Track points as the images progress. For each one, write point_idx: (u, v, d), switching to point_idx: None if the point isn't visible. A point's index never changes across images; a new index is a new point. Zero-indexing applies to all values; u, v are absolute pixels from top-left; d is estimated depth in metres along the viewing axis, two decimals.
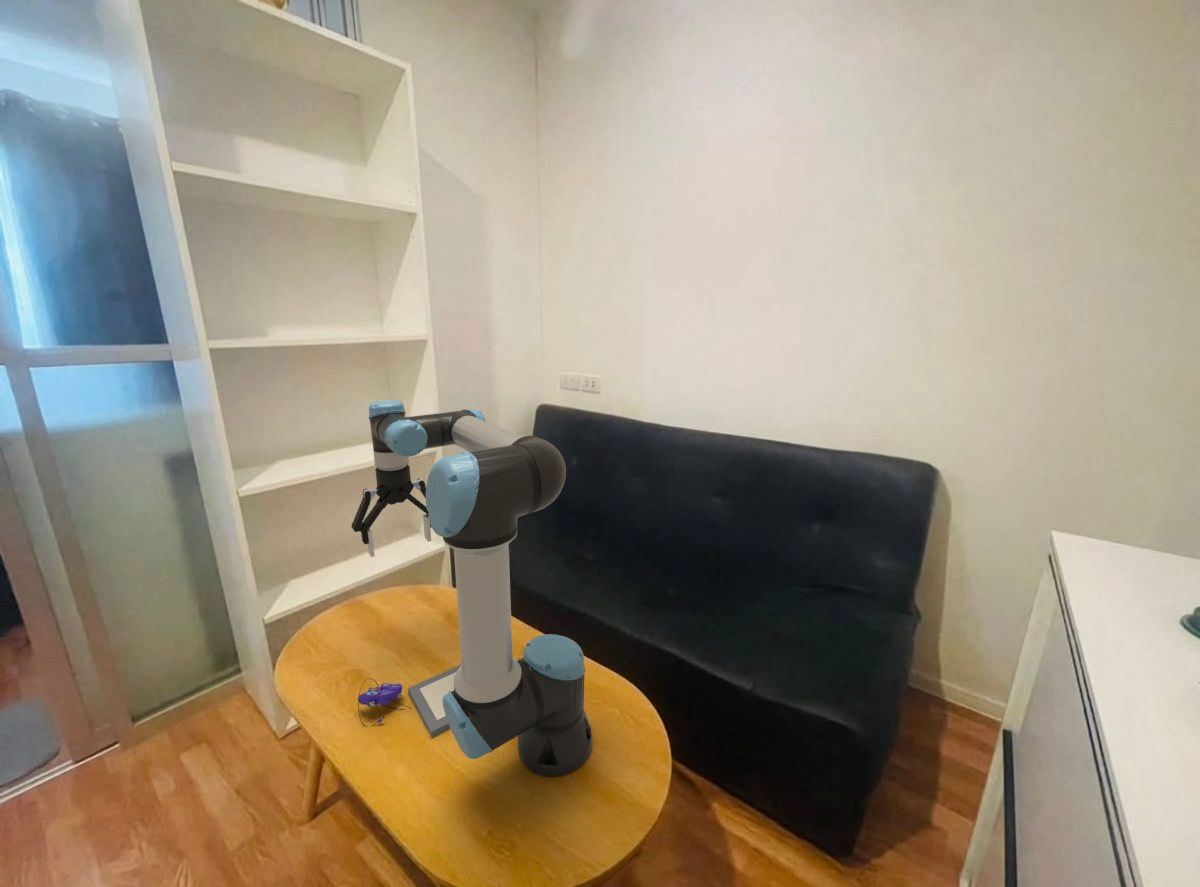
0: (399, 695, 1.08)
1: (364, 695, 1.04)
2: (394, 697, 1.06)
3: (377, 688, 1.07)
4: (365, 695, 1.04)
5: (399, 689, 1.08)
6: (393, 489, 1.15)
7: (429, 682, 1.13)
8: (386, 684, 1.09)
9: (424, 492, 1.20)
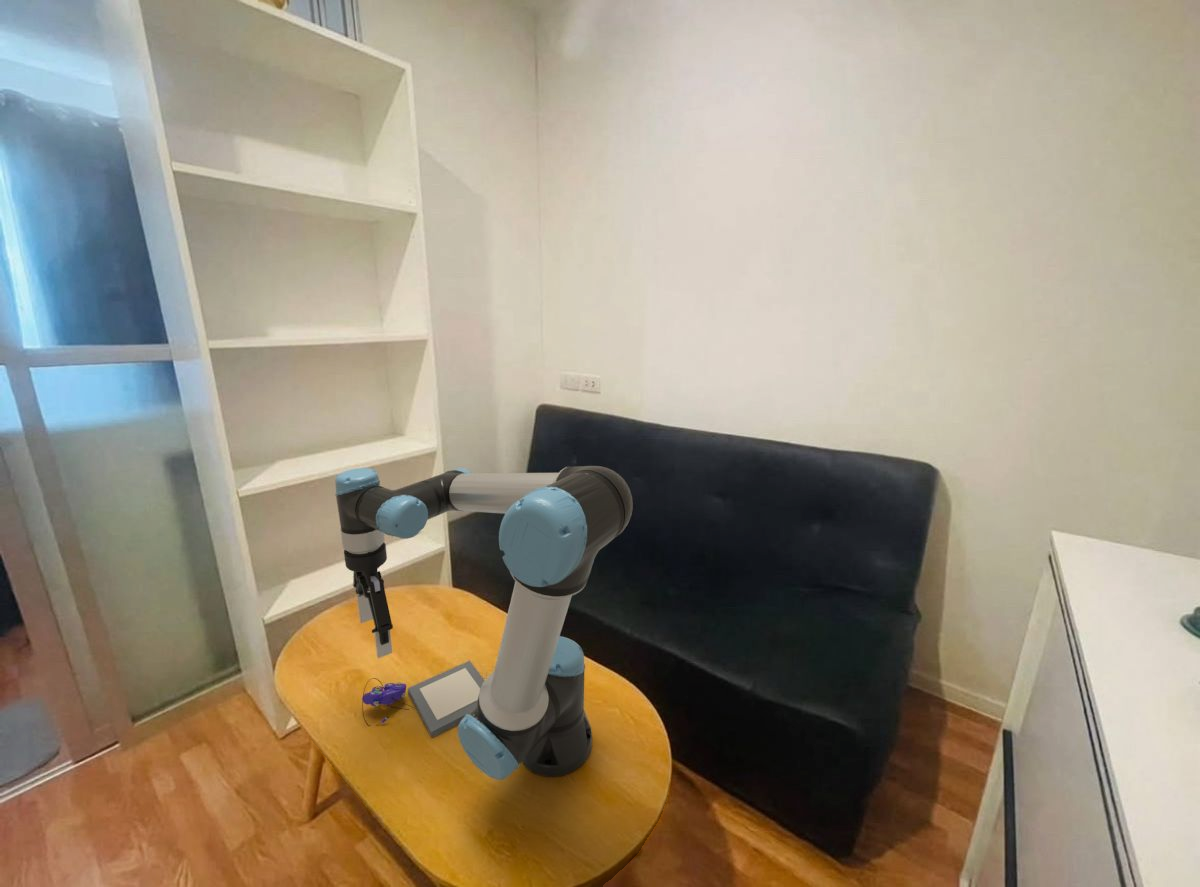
0: (403, 695, 1.08)
1: (368, 695, 1.04)
2: (398, 697, 1.07)
3: (381, 688, 1.07)
4: (369, 695, 1.04)
5: (403, 689, 1.08)
6: None
7: (429, 682, 1.13)
8: (390, 684, 1.09)
9: (371, 597, 0.93)
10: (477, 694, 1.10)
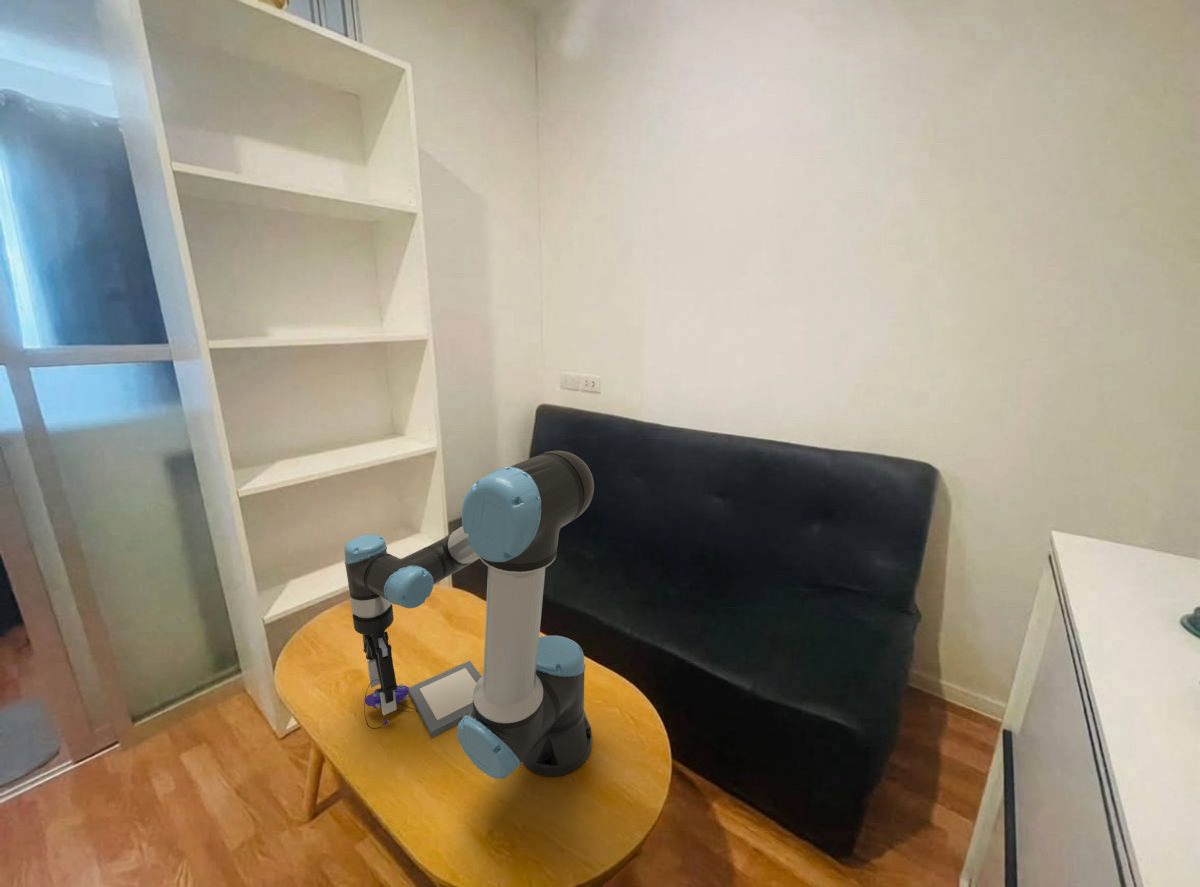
0: (405, 697, 1.07)
1: (370, 696, 1.03)
2: (400, 699, 1.06)
3: None
4: (371, 696, 1.03)
5: (405, 691, 1.07)
6: None
7: (429, 682, 1.13)
8: None
9: (378, 661, 0.97)
10: None
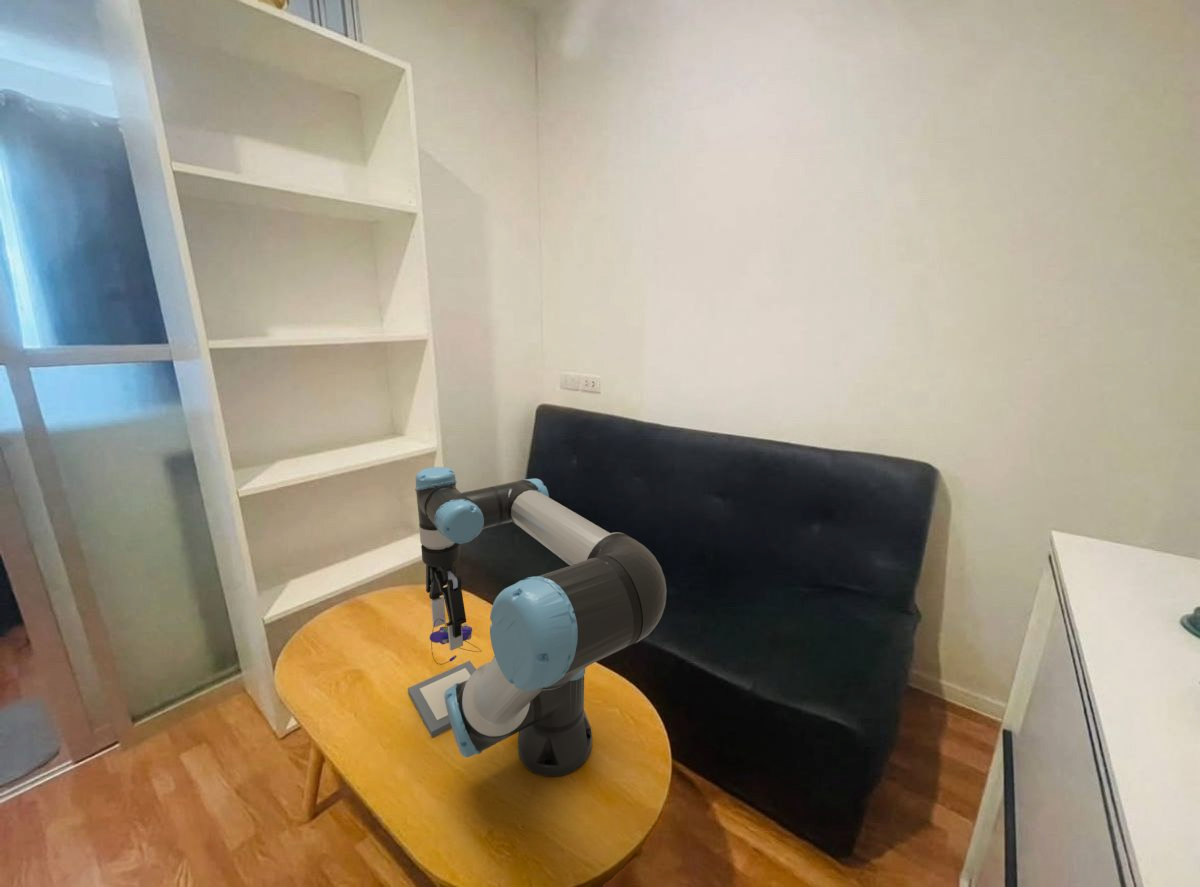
0: (469, 637, 1.07)
1: (437, 632, 1.03)
2: (465, 638, 1.05)
3: None
4: (438, 632, 1.03)
5: (470, 631, 1.07)
6: None
7: (429, 682, 1.13)
8: None
9: (448, 593, 0.97)
10: None
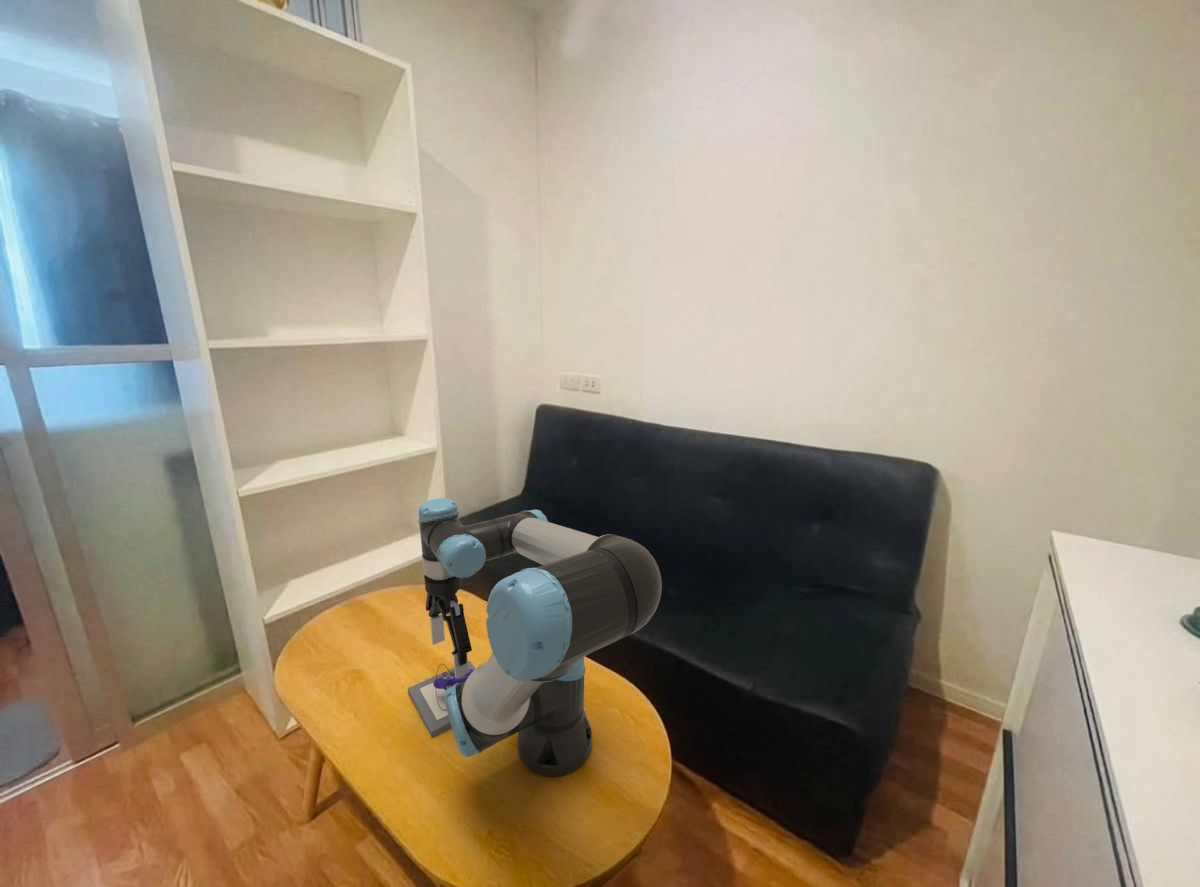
0: None
1: (441, 679, 1.06)
2: None
3: (451, 673, 1.09)
4: (442, 679, 1.06)
5: None
6: None
7: (429, 682, 1.13)
8: None
9: (452, 621, 0.98)
10: None
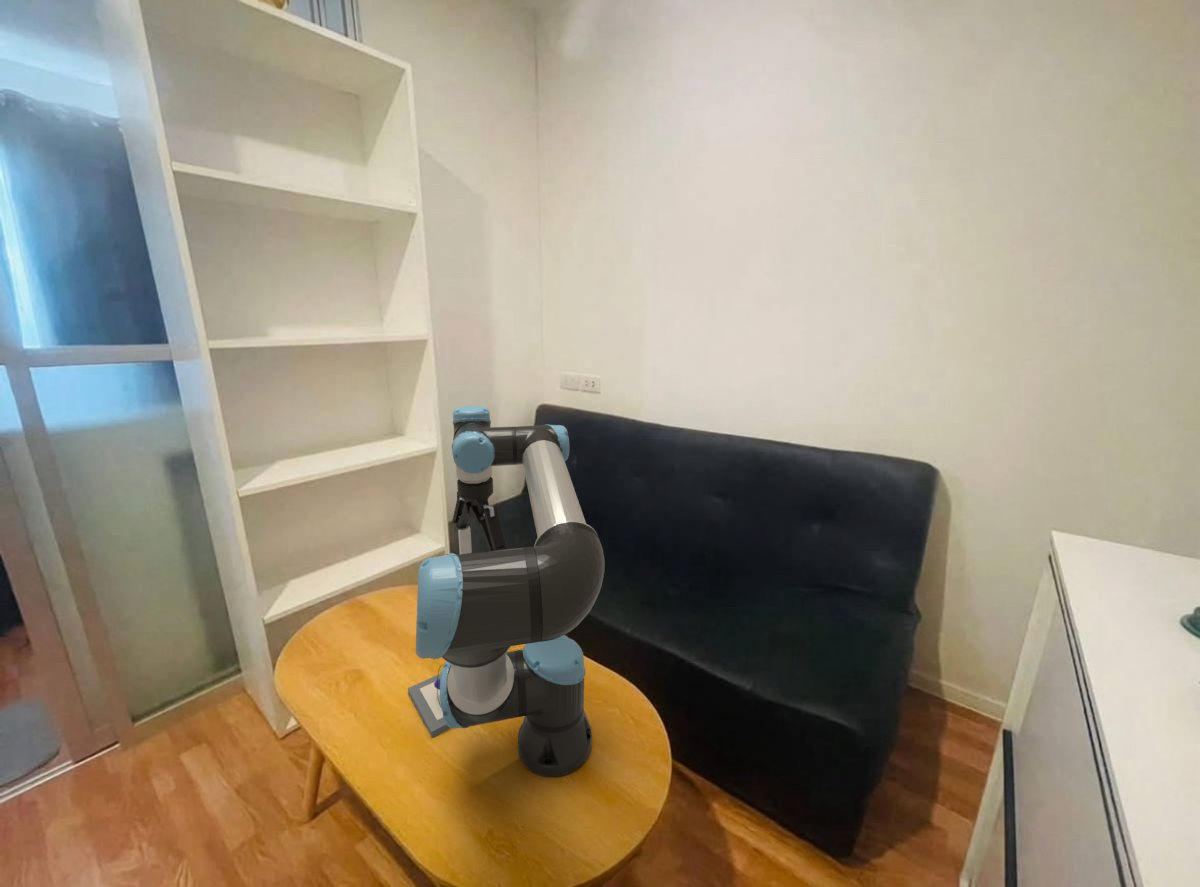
0: None
1: None
2: None
3: None
4: None
5: None
6: (470, 501, 1.06)
7: (429, 682, 1.13)
8: None
9: (486, 522, 1.02)
10: None
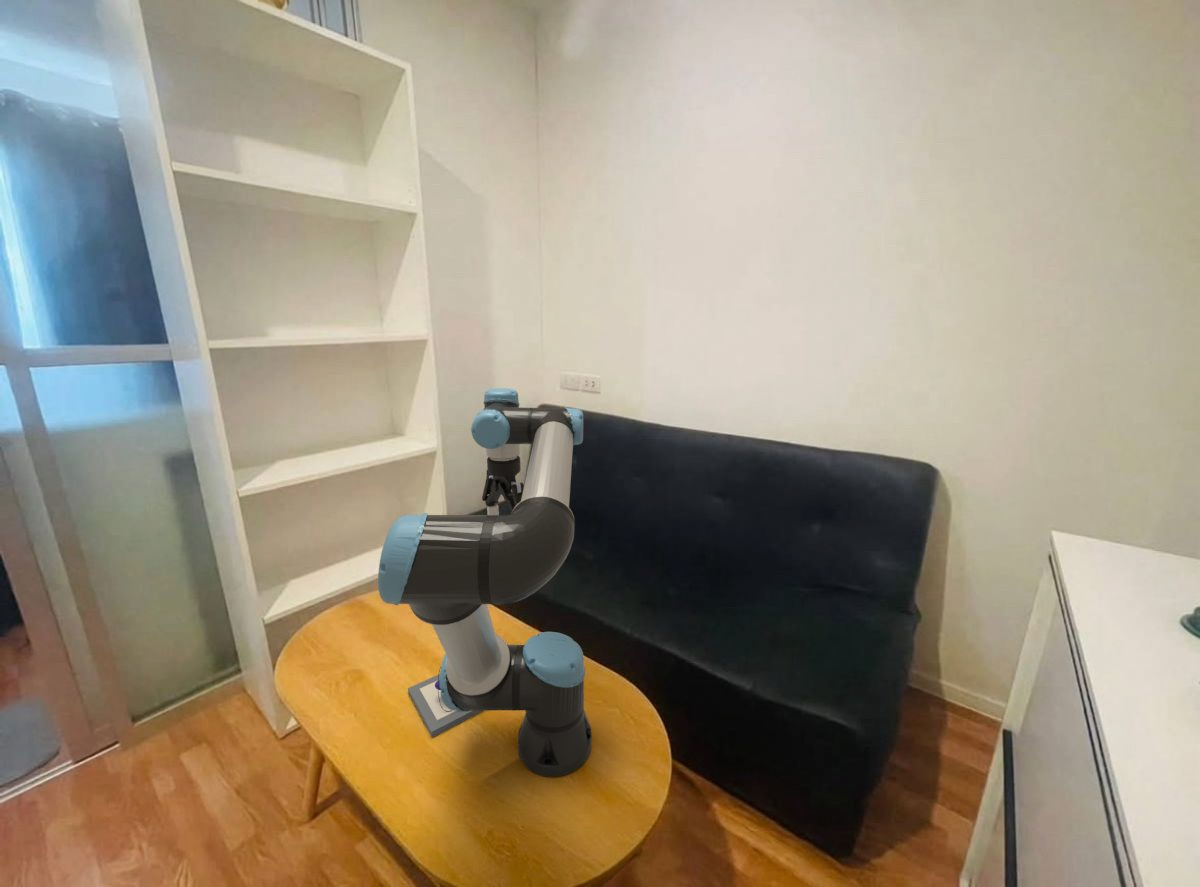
0: None
1: None
2: None
3: None
4: None
5: None
6: (498, 479, 1.13)
7: (429, 682, 1.13)
8: None
9: (513, 498, 1.08)
10: None
